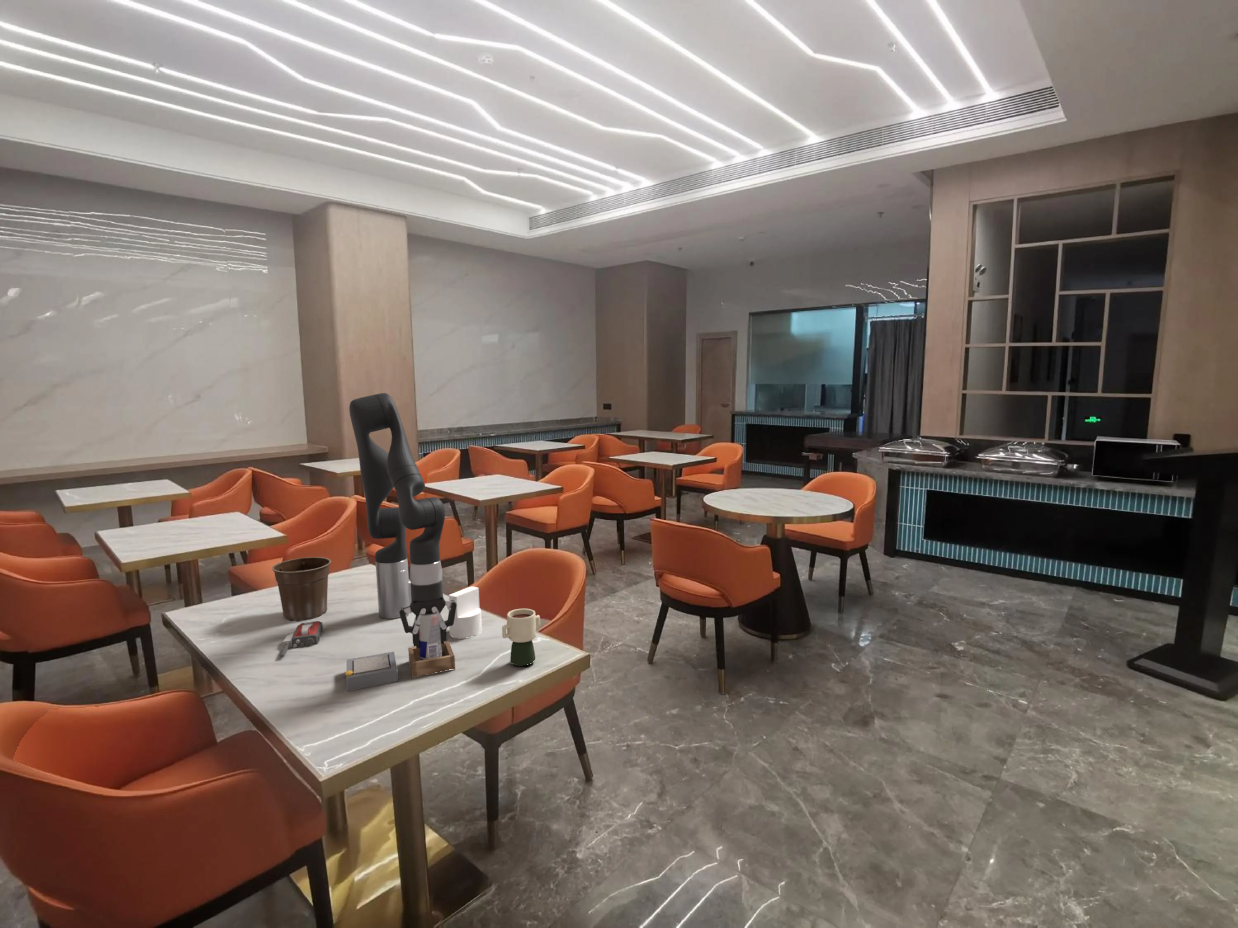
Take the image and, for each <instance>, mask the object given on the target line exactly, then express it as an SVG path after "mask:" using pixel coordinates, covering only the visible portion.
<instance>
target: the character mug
mask: <svg viewBox="0 0 1238 928" xmlns="http://www.w3.org/2000/svg"><path fill="white" fill-rule="evenodd" d="M540 627H541V617H540V615H539V614H537V615H536V611H535V610H533V609H530V608H518V609H517V608H516V609H513V610H510V611H508V612H507V613H506V624H504V625H502V627H501V632H502V633H501V634H502V638H503V639H509V641H511V642H512V643H511V647H510V659H509V661H510V662H509V663H511V664H512V665H515V666H521V667H522V666H523V665H527V664H530V663H532V662H533V661H534V660H535V661H536V654H535V653H536V652H535V647H534V642H533V640H534V639H535V638H536V637H537V636H536V635H537V629H538V628H540ZM532 664H533V663H532ZM530 665H531V664H530ZM523 667H524V666H523Z"/></svg>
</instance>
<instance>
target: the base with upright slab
mask: <svg viewBox="0 0 1238 928" xmlns="http://www.w3.org/2000/svg"><path fill="white" fill-rule="evenodd" d="M479 589H480V588H479V587H477V586H468V587H466V588H463V589H461V590H459V591H456V592H453V593H451V594H450V593H449V594H448V601H451V600H455V602H456V604H457V606H456V612H455V619H454V624H453V625H452V626H449V627H448V630H449V636H450V635H451V636H453V637H452V638H454V637H455V638H454V639H461V638H462V639H467V638H466V637H471V636H474V637H476V636H475V635H477V634H479V635H481V633H482V632H483V621H482V609H481V608H480V590H479ZM481 631H482V632H481ZM451 636H450V637H451ZM477 636H478V635H477ZM471 638H472V637H471Z"/></svg>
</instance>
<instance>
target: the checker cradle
mask: <svg viewBox="0 0 1238 928" xmlns="http://www.w3.org/2000/svg"><path fill="white" fill-rule="evenodd" d="M387 654H388V660H389V669H383V670H378V671H372V672H367V673H361V674H355V675H354V660H358V659H363V658H369V657H375V656H381V655H387ZM397 667H398V666H397V660H396V655H395V651H390V652H389V651H388V652H383V653H378V654H371V655H365V656H361V657H353V658H348V659H346V671H345V676H346V677H345V680H346V691H347V692H349V691H355V690H359V689H364V688H369V687H375V686H380V685H386V684H391V683H397V682H398V679H399V678H398V677H399V676H398V668H397ZM396 681H397V682H396Z"/></svg>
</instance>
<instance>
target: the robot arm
mask: <svg viewBox="0 0 1238 928" xmlns="http://www.w3.org/2000/svg"><path fill="white" fill-rule="evenodd" d="M348 408H349V409H348V410H349V415H350V421H351V422H350V423H351V425H352V430H353V433H354V438H355V442H356V446H357V451H358V452H357V453H358V461H359V471H360V476H361V483H362V488H363V493H364V498H365V505H366V506H365V507H366V520H367V521H366V522H367V531H368V534H369V536H370V537H371V538H372V539H377V540H382V539H383V540H384V539H393V538H394V539H395V540H394V541H393V542H392V543H390V544H389V545H387V546H384V547H382V548H380V549H378V550H377V551H376V552H375V554H374V558H375V559H374V561H375V572H376V573H375V574H376V576H375V577H376V589H377V604H378V616H379V617H380V618H381V619H388V620H389V619H391V620H392V619H399V618H400V620H401V623H402V627H403V630H404V634H405V633H406V634H409V633H410V634H412V636H411V637H412V644H413V647H416V648H420V647H419V633H418V630H419V626H420V621H419V620H420V617H421V615H426V614H433V613H434V614H435V613H437V614H438V620H439V623H440V627H441V644H444V642H447V640H448V635H447V629H448V628H449V626H452V625H453V624H454V619H455V612H456V606H457V604H456V602H455V600H451V601H449V600H445V598H444V585H443V567H442V564H441V554H440V553H441V551H440V549H441V548H440V547H441V546H440V542H441V538H442V534H443V529H444V524H445V521H446V508H445V504H444V503H443V501H442V500H441V499H439V498H437V497H434V496H433V497H426V498H425V497H424V498H420V499H415V497H416V496H418V495H420V494H421V493H422V492H424V490H425V488H426V484H425V480H424V478H423V476H422V474H421V473H420V470H419V468H418V465H417V464H416V462H415V458H414V456H413V454H412V452H411V448H410V445H409V442H408V438H407V435H406V432H405V428H404V426H403V422H402V420H401V416H400V413H399V411H398V407H397V405H396V403H395V401H394V399H393V398H392V396H391V395H390V394H389V393H388V392H387V393H386V392H380V393H376V394H371V395H367V396H363V397H358V398H355V399H353V400H351V401H350V402H349V407H348ZM387 429H389V430H390V434H391V441H390V447H389V450H388V452H387V451H386V450H385V449H383V448H382V447H381V446H379V445H378V444H377V443H376V442H375V441H374V440H373V439H372V438H371V437H370V434H371V433H373V432H378V431H382V430H387ZM393 490H395V492H396V497H397V499H396V500H397V505H398V506H395V507H382V508H381V505H382V503H383V502H384V501H385V500H386V499H387V497H388V496H389V495H390V494H391V492H392V491H393ZM407 529H408V530H410V531H414V530H415V531H416V530H419V529H420V530H421V529H424V530H423V531H422V533H421V534H420V535H418V536H416V537H414V538H412V539H411V540H410V542H409V562H410V565H408V564H409V563H408V549H407ZM409 566H410V567H409ZM445 606H446V608H447V610H448V615H447V619H446V620H444V619H443V616H442V614H441V613H442V612H443V610H444V608H445ZM411 612H412V613H413V614H414V616H415V617H414V620H413V623H412V626H411V625H410V624H409V622H408V618H407V617H409V615H410V613H411ZM417 617H418V618H417Z"/></svg>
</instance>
